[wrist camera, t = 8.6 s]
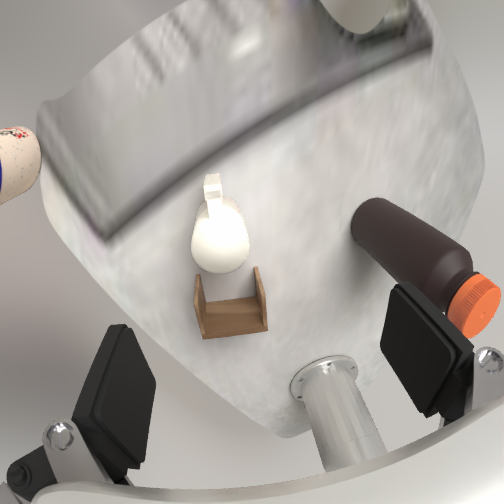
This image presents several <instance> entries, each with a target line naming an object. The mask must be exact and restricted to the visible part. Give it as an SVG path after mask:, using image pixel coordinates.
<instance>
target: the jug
mask: <svg viewBox="0 0 504 504" xmlns="http://www.w3.org/2000/svg"><path fill="white" fill-rule="evenodd" d="M204 193H205V201H204V202H203V203H202V204H201V205H200V207H199V209H198V212H197V216H196V221H195V226H194V231H193V236H192V242H191V252H192V256H193V258H194V260H195V262H196V263H197V264H198V265H199V266H200V267H201V268H203V269H204V270H206V271H208V272H211V273H216V274H224V273H229V272H232V271H234V270H236V269H238V268H239V267H240V266H241V265H242V264H243V263H244V262H245V261H246V259H247V257H248V255H249V251H250V243H249V238H248V235H247V231H246V227H245V224H244V220H243V217H242V213H241V210H240V208H239V206H238V204H237V203H236V202H235V201H234V200H232V199H230V198H228V197H225V196H222V186H221V177H220V173H217V174H210V175H206V177H205V181H204Z"/></svg>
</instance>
